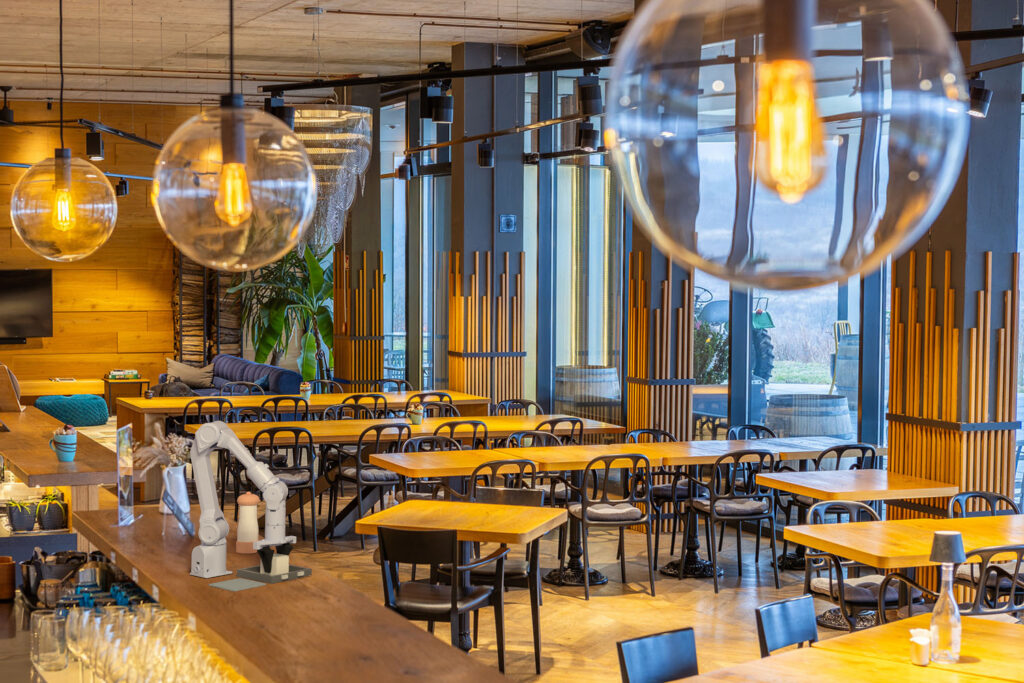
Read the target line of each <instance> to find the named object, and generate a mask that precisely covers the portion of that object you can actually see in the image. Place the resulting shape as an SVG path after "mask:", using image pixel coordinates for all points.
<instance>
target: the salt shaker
mask: <svg viewBox="0 0 1024 683" xmlns="http://www.w3.org/2000/svg"><path fill="white" fill-rule="evenodd" d="M236 502H237V504H238V505H239V516H238V518H239V519H238V523H237V529H236V533H237V534H236V536H237V540H236V541H235V553H238V554H255V553H258V552H257V550H256V549H253V542H257V541H260V539H259V521H258V516H257V515H258V505H259V503H260V497H259V496H258V495H257V494H255V493H252V492H251V491H246V493H243V494H241V495H240V496H238V497H237V500H236Z"/></svg>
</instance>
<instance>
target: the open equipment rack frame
mask: <svg viewBox="0 0 1024 683" xmlns="http://www.w3.org/2000/svg"><path fill="white" fill-rule="evenodd" d="M309 575H312V568H309V567H305V566H300V565H296V564H295V565H294V564H291V563H290V564H289V572H288V573H283V574H278V575H273V576H271V575H266V574H262V573H260V564H258V565H253V566H252V565H251V566H248V567H242V568H237V569H236V577H238V578H243V579H247V580H252V581H256V582H261V583H265V584H271V585H273V584H278V583H282V582H288V581H293V580H297V578H298V579H301V577H303V578H306V577H305V576H307V577H310V576H309Z"/></svg>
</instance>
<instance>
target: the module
mask: <svg viewBox="0 0 1024 683" xmlns="http://www.w3.org/2000/svg"><path fill="white" fill-rule="evenodd" d="M289 556H290V555H289ZM289 556H287V555H282V554H277V552H276V553H275V552H274V554H273V558H272V569H271V573H266V572H264V567H263V564H262V560H261V559H260V564H259V565H260V573H262V574H266V575H271V576H273V575H278V574H283V573H288V572H289V562H290V557H289Z"/></svg>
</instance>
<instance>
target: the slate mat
mask: <svg viewBox="0 0 1024 683" xmlns="http://www.w3.org/2000/svg"><path fill="white" fill-rule="evenodd" d="M266 585H267V583H265V582H261V581H256V580H251V579H247V578H242V577H238V578H234V579H228V580H222V581H219V582H217V581H216V582H214V583H208V586H209V587H212V588H218V589H222V590H226V591H231V592H238V591H243V590H248V589H254V588H259V587H264V586H266Z"/></svg>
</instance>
